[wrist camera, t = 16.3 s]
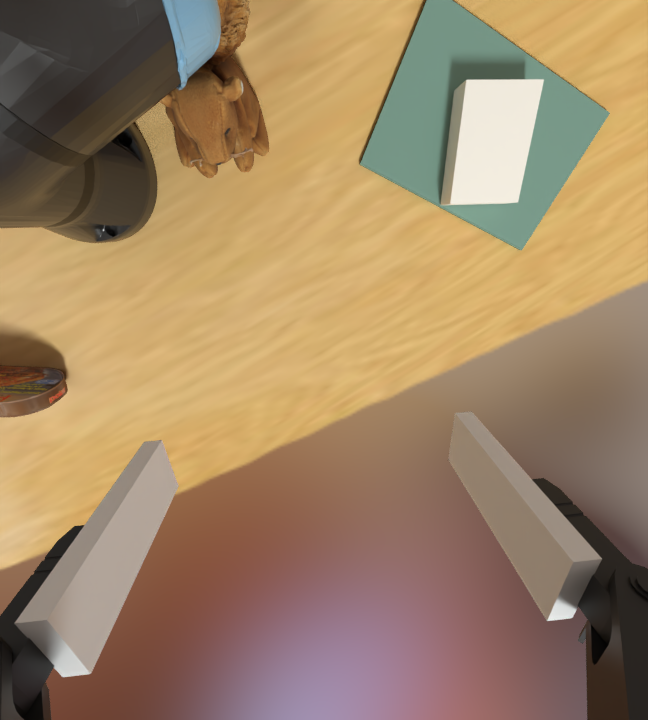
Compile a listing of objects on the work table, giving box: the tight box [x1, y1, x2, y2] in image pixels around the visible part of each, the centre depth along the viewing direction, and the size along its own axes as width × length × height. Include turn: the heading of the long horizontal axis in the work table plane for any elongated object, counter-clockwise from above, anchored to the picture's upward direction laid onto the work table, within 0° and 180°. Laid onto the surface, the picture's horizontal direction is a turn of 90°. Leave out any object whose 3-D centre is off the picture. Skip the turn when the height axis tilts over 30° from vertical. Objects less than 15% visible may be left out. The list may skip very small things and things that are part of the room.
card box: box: [441, 79, 544, 205], centre depth 34 cm, size 8×3×11 cm
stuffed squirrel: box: [159, 0, 269, 178], centre depth 26 cm, size 10×14×13 cm
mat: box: [360, 0, 610, 250], centre depth 35 cm, size 24×16×1 cm, turn 67°
